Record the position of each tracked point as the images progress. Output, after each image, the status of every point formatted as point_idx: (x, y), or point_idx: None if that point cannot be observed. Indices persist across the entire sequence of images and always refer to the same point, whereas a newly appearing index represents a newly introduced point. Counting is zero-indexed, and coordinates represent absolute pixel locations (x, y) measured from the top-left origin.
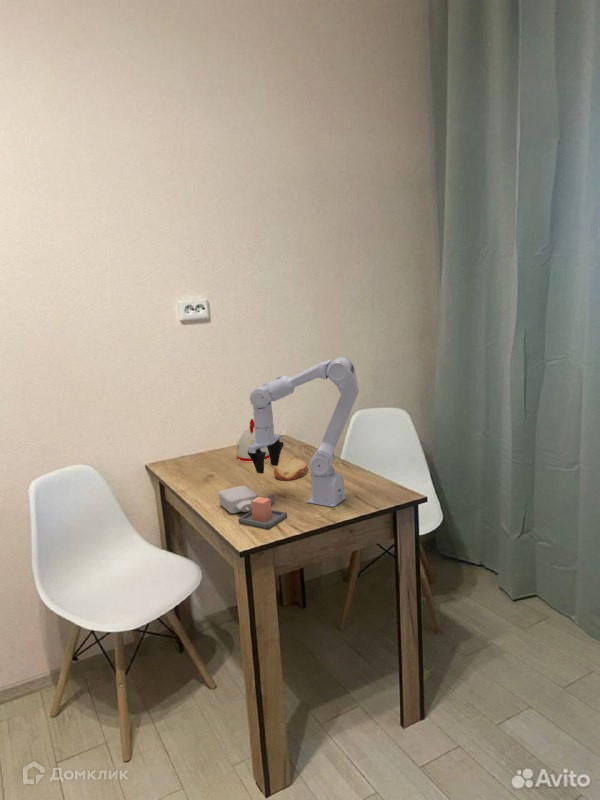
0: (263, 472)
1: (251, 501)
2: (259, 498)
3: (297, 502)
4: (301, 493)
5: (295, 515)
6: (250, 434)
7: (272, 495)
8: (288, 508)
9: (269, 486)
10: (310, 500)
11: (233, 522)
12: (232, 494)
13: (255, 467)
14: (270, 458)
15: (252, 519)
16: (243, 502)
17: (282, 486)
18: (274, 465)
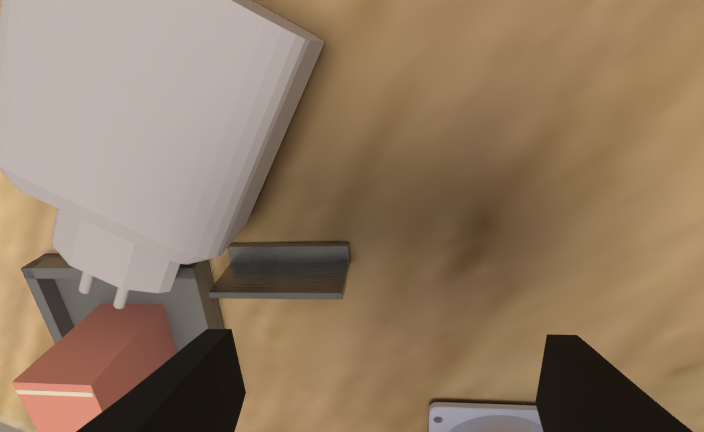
0: (239, 401)
1: (15, 383)
2: (76, 403)
3: (418, 359)
4: (558, 318)
5: (278, 416)
6: None
7: (328, 295)
8: (328, 358)
9: (651, 18)
10: (447, 418)
11: (32, 218)
12: (49, 108)
13: (148, 383)
14: (606, 413)
15: (101, 302)
16: (88, 232)
17: (671, 129)
18: (540, 380)
